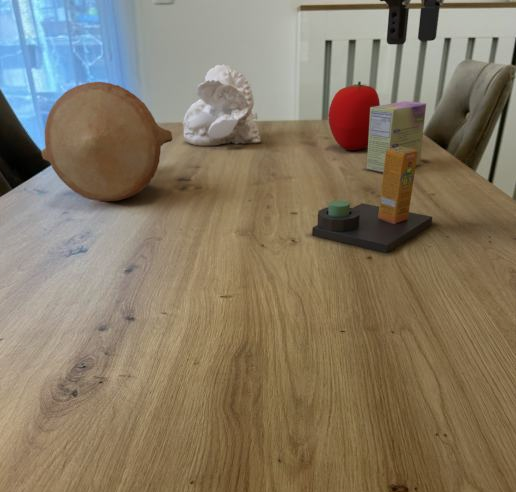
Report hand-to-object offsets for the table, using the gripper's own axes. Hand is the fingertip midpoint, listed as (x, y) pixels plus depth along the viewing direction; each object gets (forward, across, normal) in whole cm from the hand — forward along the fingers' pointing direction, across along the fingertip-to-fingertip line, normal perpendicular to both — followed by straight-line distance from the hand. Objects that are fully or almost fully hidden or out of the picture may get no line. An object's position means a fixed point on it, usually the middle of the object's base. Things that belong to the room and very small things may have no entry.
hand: (411, 42), depth 69 cm
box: (+24, +32, +17) cm, 44 cm away
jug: (+24, -8, +52) cm, 58 cm away
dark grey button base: (+24, -2, +2) cm, 24 cm away
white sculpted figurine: (+24, +32, +64) cm, 76 cm away
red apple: (+24, +44, +33) cm, 60 cm away
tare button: (+21, -6, +5) cm, 23 cm away
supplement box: (+23, 0, 0) cm, 23 cm away
